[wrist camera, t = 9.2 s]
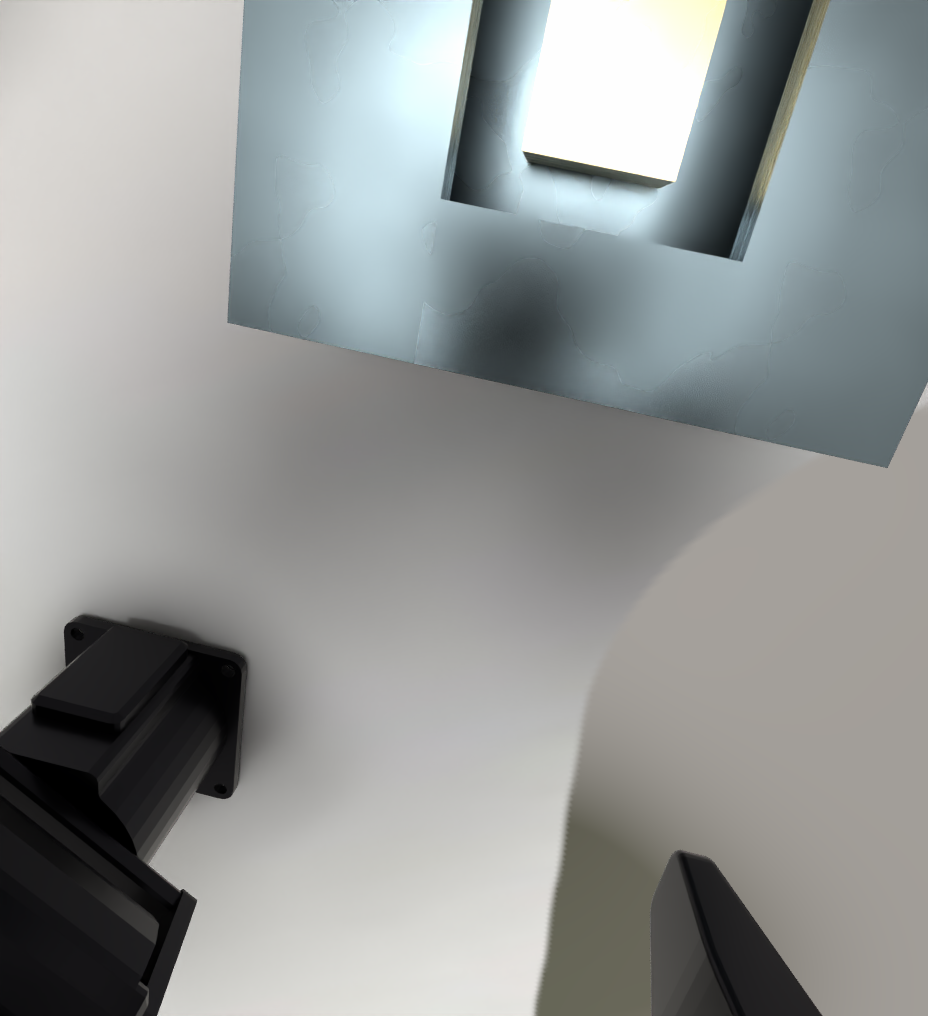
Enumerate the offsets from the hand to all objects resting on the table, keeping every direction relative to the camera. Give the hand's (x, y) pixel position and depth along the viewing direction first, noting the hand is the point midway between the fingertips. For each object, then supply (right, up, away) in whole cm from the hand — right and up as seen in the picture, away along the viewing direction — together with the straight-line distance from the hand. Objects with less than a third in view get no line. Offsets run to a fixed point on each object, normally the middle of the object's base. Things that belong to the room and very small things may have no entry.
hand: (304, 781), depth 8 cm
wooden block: (+6, +14, +7) cm, 17 cm away
